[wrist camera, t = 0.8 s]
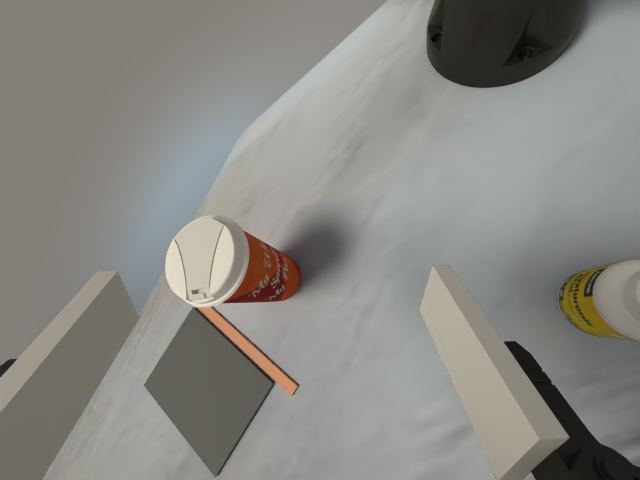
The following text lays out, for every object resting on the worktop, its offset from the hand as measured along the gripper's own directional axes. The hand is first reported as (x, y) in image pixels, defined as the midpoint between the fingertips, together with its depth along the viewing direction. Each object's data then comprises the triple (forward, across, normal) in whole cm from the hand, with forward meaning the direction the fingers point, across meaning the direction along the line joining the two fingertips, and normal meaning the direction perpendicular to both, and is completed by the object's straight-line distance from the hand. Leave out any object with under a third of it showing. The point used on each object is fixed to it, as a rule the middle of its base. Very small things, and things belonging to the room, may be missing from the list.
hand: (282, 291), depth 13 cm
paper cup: (+18, -2, -15) cm, 23 cm away
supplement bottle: (+7, +26, -9) cm, 28 cm away
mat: (+11, -11, -26) cm, 30 cm away
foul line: (+14, -7, -21) cm, 26 cm away
